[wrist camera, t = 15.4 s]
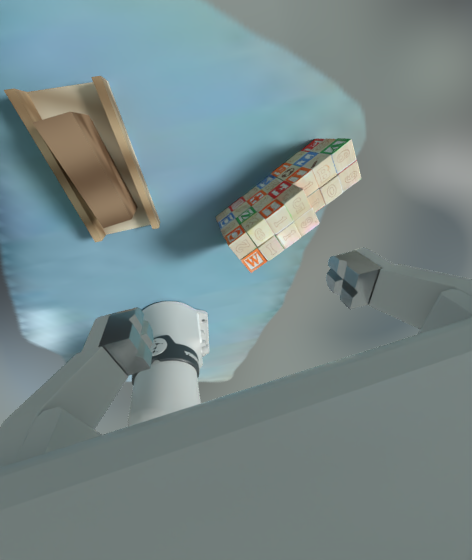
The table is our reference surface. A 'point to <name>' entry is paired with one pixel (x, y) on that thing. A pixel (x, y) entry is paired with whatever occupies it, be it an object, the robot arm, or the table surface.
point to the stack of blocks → (288, 201)
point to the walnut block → (88, 166)
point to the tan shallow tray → (112, 131)
